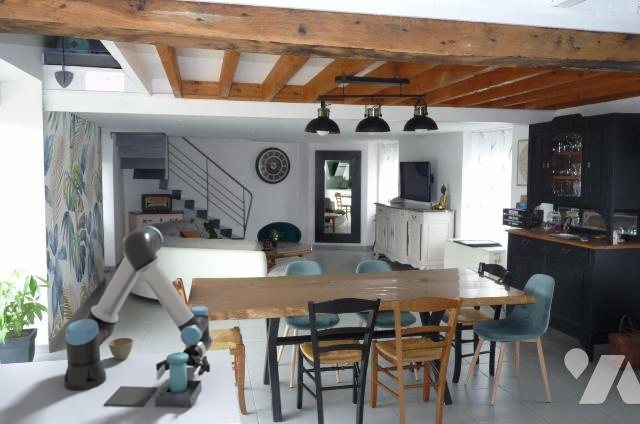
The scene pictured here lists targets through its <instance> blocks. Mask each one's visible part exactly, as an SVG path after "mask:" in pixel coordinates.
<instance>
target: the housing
mask: <svg viewBox="0 0 640 424" xmlns="http://www.w3.org/2000/svg"><path fill="white" fill-rule="evenodd" d="M202 388H203V387H202V380H198V379H197V380H196V381H194V379H191V380H188V379H187V391H186V392H185V393H178V392H170V379H166V380H165V382H164V383H163V385H162V386H161V387H160V389H159V390H158V391H157V392H156V394H155V395H154V406H155V407H158V408H159V407H161V408H187V409H188V408H192V407H193V406H194V404H195V403H196V401H197V399H198V397H199V396H200V394H201V392H202Z"/></svg>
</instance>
